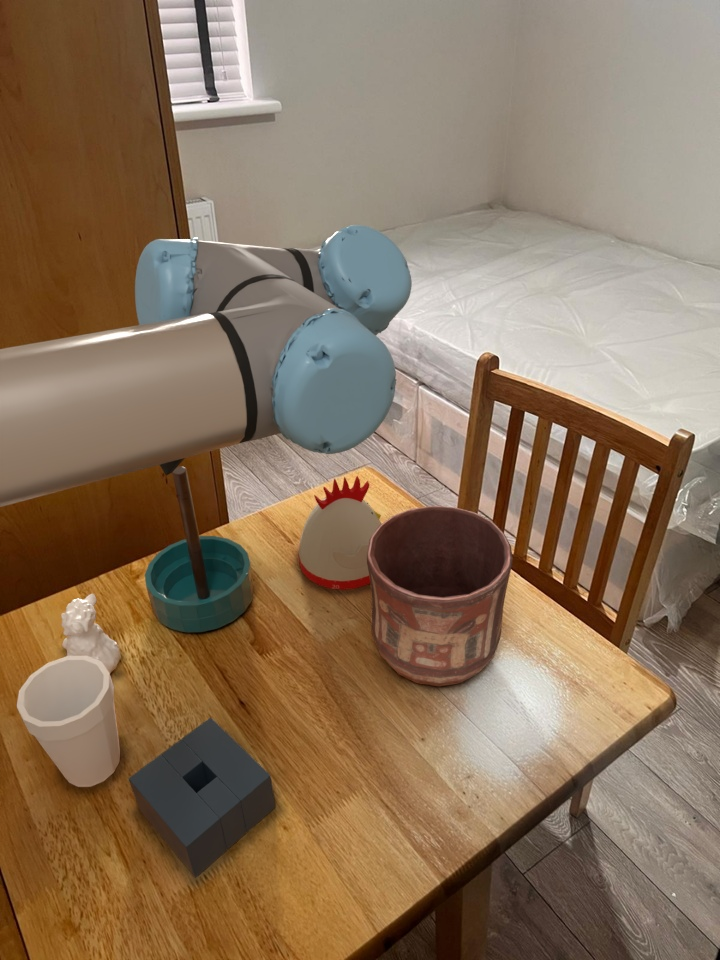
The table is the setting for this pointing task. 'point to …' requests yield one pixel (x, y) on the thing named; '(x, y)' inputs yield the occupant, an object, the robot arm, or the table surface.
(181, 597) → the bowl
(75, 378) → the robot arm
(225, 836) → the holder
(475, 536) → the pottery
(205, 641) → the table surface
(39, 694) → the foam cup
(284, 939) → the table surface
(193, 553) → the brown rod
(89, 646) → the white creature statuette
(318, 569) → the kitchen timer
